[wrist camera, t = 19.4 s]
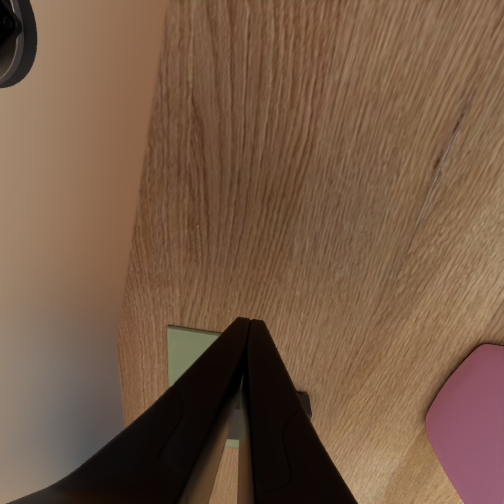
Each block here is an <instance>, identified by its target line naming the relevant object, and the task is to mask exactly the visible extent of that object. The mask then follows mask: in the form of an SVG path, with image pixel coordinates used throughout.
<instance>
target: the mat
mask: <svg viewBox="0 0 504 504" xmlns="http://www.w3.org/2000/svg"><path fill="white" fill-rule="evenodd" d="M220 335H221V333H215V332H208V331H202V330H195V329H189V328H182V327H176V326H169V325H168V327H167V346H168V377H169V387H170V386H172V385H173V384H174V382H175V381H176V380H177V379H178V378H179V377H180V376H181V375H182V374H183V373H184V372H185V371H186V370H187V369H188V368H189V367H190V366H191V365H192V364H193V363H194V362H195V361H196V360H197V359H198V358H199V357H200V356H201V354H202V353H203V352H204V351H205V350H206V349H207V348H208V347H209V346H210V345H211V344H212V343H213V342H214V341H215V340H216V339H217V338H218V337H219V336H220ZM241 385H242V383H241ZM225 446H228V447H234V448H239V440H231V439H227V440H226V444H225Z"/></svg>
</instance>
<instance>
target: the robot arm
mask: <svg viewBox="0 0 504 504" xmlns="http://www.w3.org/2000/svg"><path fill="white" fill-rule="evenodd" d="M10 21H12V23H13V26H12V28H11V26H10ZM21 32H22V23H21V21H20V19H19V18H18V17H17V15H16V14H15V13H14V11H13V10H12V9H11V7H10V6H9V5H8V3H7V2H6V1H5V0H0V56H1V55H2V54H3V53H4V52H5V51H6V49H7V48H8V47H9V46H10V45H11V44H12V43H13V42H14V40H15V39H16V38H17V37H18V36H19V35H20V34H21ZM241 383H242V385H241ZM240 389H241V396H240V426H239V459H238V492H237V504H358V503H357V501H356V500H355V498H354V496H353V495H352V493H351V491H350V490H349V488H348V486H347V485H346V483H345V481H344V480H343V478H342V476H341V475H340V473H339V471H338V470H337V468H336V466H335V465H334V463H333V462H332V460H331V458H330V456H329V455H328V453H327V451H326V449H325V448H324V446H323V444H322V442H321V441H320V439H319V437H318V435H317V433H316V431H315V429H314V427H313V425H312V423H311V421H310V419H309V417H308V415H307V413H306V410H305V408H304V407H303V404H302V402H301V400H300V398H299V395H298V393H297V391H296V389H295V387H294V385H293V382H292V380H291V378H290V376H289V374H288V372H287V369H286V367H285V365H284V363H283V361H282V359H281V356H280V354H279V352H278V350H277V348H276V346H275V343H274V341H273V339H272V337H271V335H270V333H269V330H268V328H267V326H266V324H265V322H264V321H263V320H257V319H252V320H251V322H250V319H249V318H244V317H237V318H236V319H235V320H234V321H233V322H232V323H231V324H230V325H229V327H228V328H227V329H226V330H225V331H224V332H223V333H222V334H221V335H220V336H219V337H218V338H217V339H216V340H215V341H214V342H213V343H212V344H211V345H210V346H209V347H208V348H207V349H206V350H205V351H204V352H203V353H202V354H201V356H200V357H199V358H198V359H197V360H196V361H195V362H194V363H193V364H192V365H191V366H190V367H189V368H188V369H187V370H186V371H185V372H184V373H183V374H182V375H181V376H180V377H179V378H178V379H177V380H176V381H175V382H174V384H173V385H172V386H170V387H169V388H168V390H167V391H166V392H165V393H164V394H163V395H162V396H161V397H160V398H159V399H158V400H157V401H156V402H155V403H154V404H153V405H152V406H150V407H149V408H148V409H147V410H146V411H145V412H144V413H143V414H142V415H141V416H139V417H138V418H137V419H136V420H135V421H134V422H132V423H131V424H130V425H129V426H128V427H127V428H125V429H124V430H123V431H122V432H121V433H119V434H118V435H117V436H116V437H115V438H113V439H112V440H111V441H110V442H109V443H107V444H106V445H105V446H104V447H103V448H102V449H100V450H99V451H98V452H97V453H95V454H94V455H93V456H92V457H91V458H89V459H88V460H87V461H86V462H85V463H83V464H82V465H81V466H80V467H78V468H77V469H76V470H75V471H73V472H72V473H70V474H69V475H67V476H66V477H64V478H63V479H61V480H60V481H58V482H56V483H54V484H53V485H51V486H49V487H47V488H45V489H42V490H40V491H37V492H35V493H32V494H30V495H27V496H25V497H22V498H20V499H17V500H14V501H12V502H10V503H7V504H209V500H210V497H211V493H212V490H213V486H214V483H215V479H216V475H217V472H218V468H219V465H220V461H221V458H222V454H223V451H224V447H225V444H226V440H227V436H228V433H229V429H230V426H231V422H232V419H233V415H234V412H235V408H236V404H237V401H238V397H239V393H240Z"/></svg>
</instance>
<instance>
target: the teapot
mask: <svg viewBox="0 0 504 504" xmlns="http://www.w3.org/2000/svg"><path fill="white" fill-rule="evenodd" d="M425 423H426V429H427V434H428V438H429V441H430V443H431V445H432V448H433V450H434V452H435V454H436V456H437V458H438V460H439V462H440V464H441V465H442V467H443V469H444V471H445V473H446V475H447V476H448V478H449V480H450V481H451V483H452V485H453V486H454V488H455V490H456V491H457V493H458V494H459V496H460V497H461V499H462V501H463V502H464V504H504V346H498V345H492V344H484V345H481V346H479V347H478V348H477V349H476V350H474V351H473V352H472V353H471V354H470V355H469V356H468V357H467V358H466V359H465V360H464V362H463V363H462V364H461V365H460V366H459V367H458V368H457V370H456V371H455V372H454V373H453V374H452V375H451V377H450V378H449V379H448V380H447V382H446V383H445V384H444V386H443V387H442V388H441V390H440V392H439V393H438V395H437V396H436V398H435V400H434V402H433V403H432V405H431V407H430V409H429V411H428V413H427V415H426V418H425Z"/></svg>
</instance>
